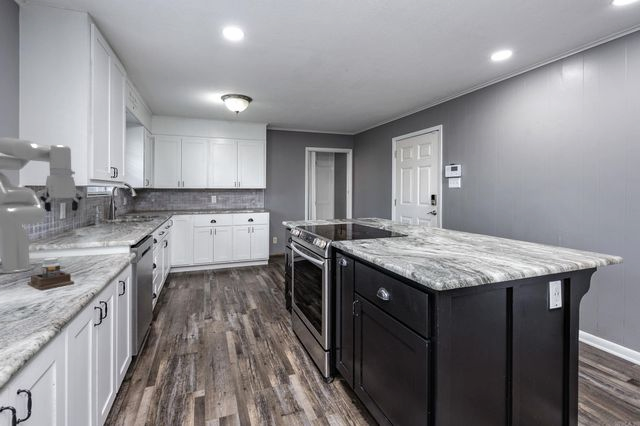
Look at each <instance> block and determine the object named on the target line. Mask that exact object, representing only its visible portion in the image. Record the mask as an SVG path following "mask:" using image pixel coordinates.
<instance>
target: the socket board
mask: <svg viewBox="0 0 640 426" xmlns="http://www.w3.org/2000/svg"><path fill="white" fill-rule="evenodd" d="M71 278H72V277H71V273H67V272H66V271H62V270H60V276H54V277H48V278H42V273H39V274H33V275H30V281H28V282H27V285H28V286H30V287H32V288H34V289H37V290H39V291H47V290H51V289H56V288H60V287H66V286H71V285H75V281H74V280H71Z"/></svg>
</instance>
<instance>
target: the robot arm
mask: <svg viewBox="0 0 640 426" xmlns="http://www.w3.org/2000/svg"><path fill="white" fill-rule="evenodd" d="M30 161H35V162H46V163H49V175H47V176H46V180H45V187H44V189H41V190H39V191H34V190H33V189H32V188H29V187H25V186H14V185H13V184H12V183H11V181H10V179H9V178H8V176H6V175H5V174H4V173H2V172H1V171H0V244H1V245H0V246H1V263H2V265H1V266H2V267H1V268H0V274H16V273H23V272H28V271H32V270H34V269H35V266H34V265H31V264H30V263H31V262H30V261H31V260H30V244H29V243H30V241H29V239H30V237H29V232H28V231H27V229H26V228H25V227H24V226H25V225H36V224H41V223H43V222H44V221H45V219H46V212H51V211H52V202H50V201H51V200H53V199H70V200H72V202H71V211H73V212H74V211H75V212H77V210H78V208H79V204H78V203H79V202H80V200H82V199H83V197H84V195H85V192H83V191H80V190H79V189H77V188H76V182H75V178H74V176H73V175H75V174H76V172H75V171H74V170H73V169H72V150H71V148H70V146H67V145H61V144H51V145H48V144H43V143H41V144H40V143H34V142H33V141H31V140H26V139H22V138H14V137H0V170H8V171H19V170H22V169H23V168H25V166H26V165H27V164H29V163H30ZM43 194H45V196H44V195H43ZM77 194H78V196H77ZM76 196H77V197H76ZM41 201H42V202H43V203H44V207H43V205H42V203H41Z"/></svg>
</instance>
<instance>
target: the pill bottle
mask: <svg viewBox="0 0 640 426" xmlns="http://www.w3.org/2000/svg"><path fill="white" fill-rule="evenodd" d="M42 262H43V264H42V265H41V274H42V278H48V277H54V276H60V271H61V264H60V263H59V258H58V257H45V258H44V259H43V261H42Z"/></svg>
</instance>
